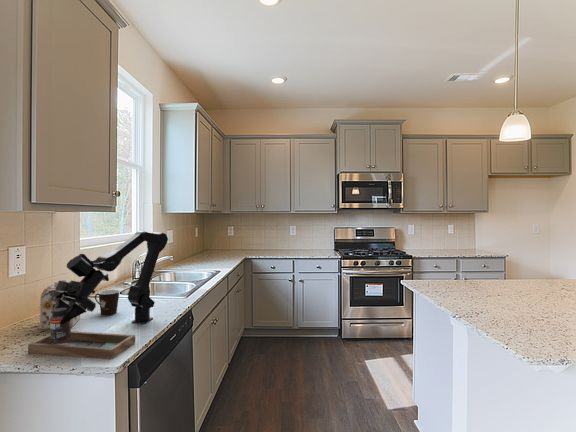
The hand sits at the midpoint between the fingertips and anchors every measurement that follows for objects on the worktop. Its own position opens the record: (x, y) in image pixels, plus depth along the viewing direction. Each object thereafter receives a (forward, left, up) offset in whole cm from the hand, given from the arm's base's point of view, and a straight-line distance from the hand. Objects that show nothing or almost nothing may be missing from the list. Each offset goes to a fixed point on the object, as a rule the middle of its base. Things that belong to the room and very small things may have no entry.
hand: (56, 322), depth 115 cm
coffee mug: (-39, -8, -9) cm, 41 cm away
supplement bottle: (-1, +1, -7) cm, 7 cm away
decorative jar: (-22, -17, -9) cm, 30 cm away
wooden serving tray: (-1, +10, -9) cm, 13 cm away
